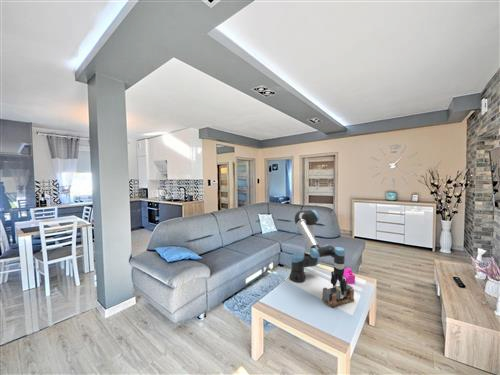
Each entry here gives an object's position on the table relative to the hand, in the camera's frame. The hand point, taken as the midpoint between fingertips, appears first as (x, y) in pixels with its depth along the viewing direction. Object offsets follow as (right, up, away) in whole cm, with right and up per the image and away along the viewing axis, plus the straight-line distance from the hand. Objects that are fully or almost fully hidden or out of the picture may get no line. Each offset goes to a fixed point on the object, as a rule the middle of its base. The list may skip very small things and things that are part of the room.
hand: (338, 295), depth 165 cm
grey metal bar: (0, 0, 0) cm, 0 cm away
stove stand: (0, -4, 0) cm, 4 cm away
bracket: (+19, -2, +30) cm, 36 cm away
